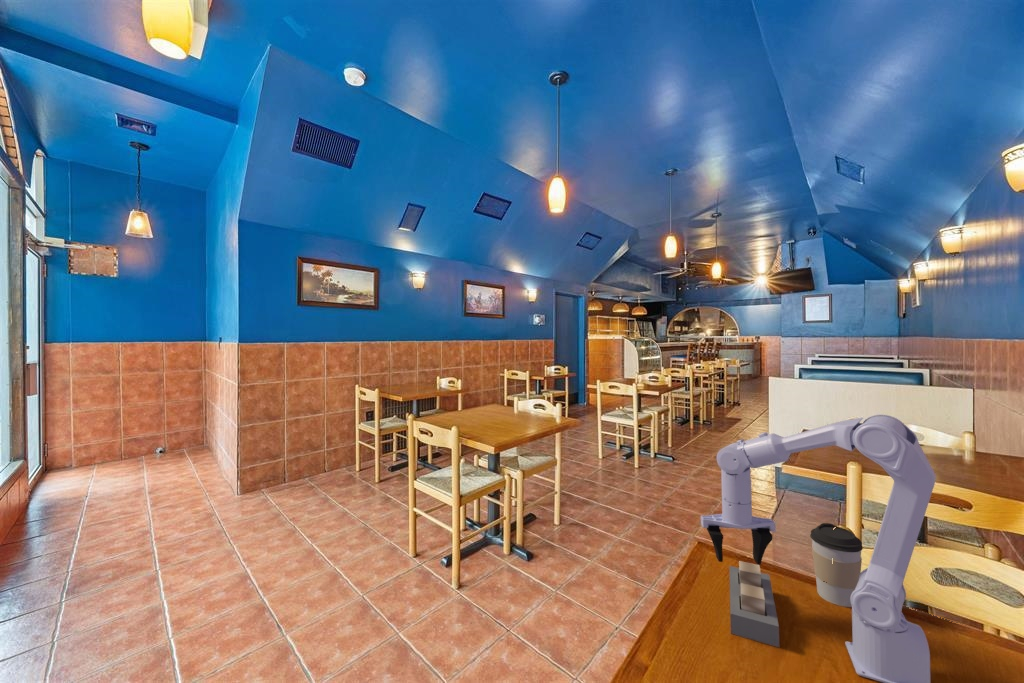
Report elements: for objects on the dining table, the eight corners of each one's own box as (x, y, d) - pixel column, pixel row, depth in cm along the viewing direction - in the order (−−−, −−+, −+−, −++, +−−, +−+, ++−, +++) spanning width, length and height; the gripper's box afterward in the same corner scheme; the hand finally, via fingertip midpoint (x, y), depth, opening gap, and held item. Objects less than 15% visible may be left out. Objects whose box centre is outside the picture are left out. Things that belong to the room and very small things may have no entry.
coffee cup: (874, 612, 82) (873, 542, 82) (825, 608, 84) (824, 538, 84) (847, 586, 91) (845, 521, 91) (803, 582, 93) (801, 519, 93)
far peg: (759, 580, 89) (759, 565, 89) (761, 591, 85) (760, 574, 85) (739, 576, 91) (739, 560, 91) (740, 586, 87) (739, 570, 87)
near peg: (763, 605, 81) (762, 588, 81) (765, 617, 77) (764, 599, 77) (740, 599, 83) (740, 582, 83) (741, 611, 79) (741, 593, 79)
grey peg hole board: (769, 591, 90) (769, 574, 90) (779, 647, 74) (778, 626, 74) (729, 582, 94) (729, 565, 94) (730, 633, 78) (730, 613, 78)
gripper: (764, 493, 89) (766, 552, 89) (696, 490, 91) (697, 548, 92) (779, 506, 82) (781, 571, 82) (705, 503, 85) (707, 566, 85)
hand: (738, 560), depth 86 cm, fingers open, 7 cm apart
